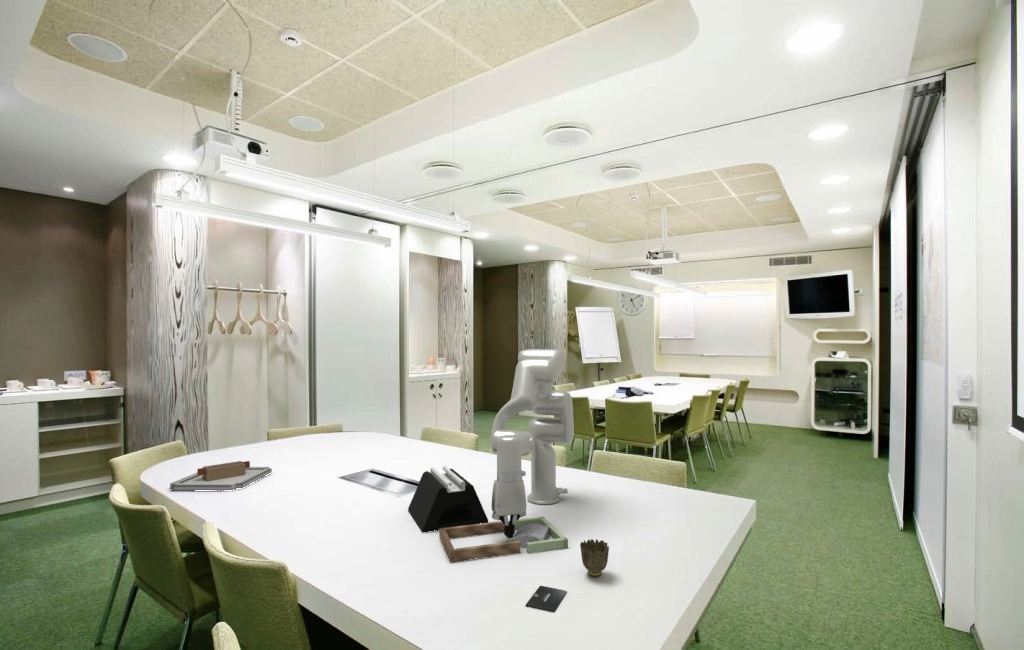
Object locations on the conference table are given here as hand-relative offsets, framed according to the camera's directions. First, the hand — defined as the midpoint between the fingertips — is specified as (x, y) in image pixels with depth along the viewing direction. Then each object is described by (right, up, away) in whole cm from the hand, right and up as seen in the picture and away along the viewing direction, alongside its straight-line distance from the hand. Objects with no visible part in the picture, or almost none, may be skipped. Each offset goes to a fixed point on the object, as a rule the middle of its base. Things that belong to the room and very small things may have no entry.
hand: (509, 536), depth 149 cm
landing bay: (+8, -1, +3) cm, 9 cm away
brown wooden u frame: (-9, -1, -3) cm, 10 cm away
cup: (+22, -1, -22) cm, 32 cm away
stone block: (+7, -2, +1) cm, 7 cm away
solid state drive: (+9, -1, -34) cm, 35 cm away
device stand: (-22, -3, +22) cm, 31 cm away
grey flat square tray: (-127, -5, +67) cm, 143 cm away
